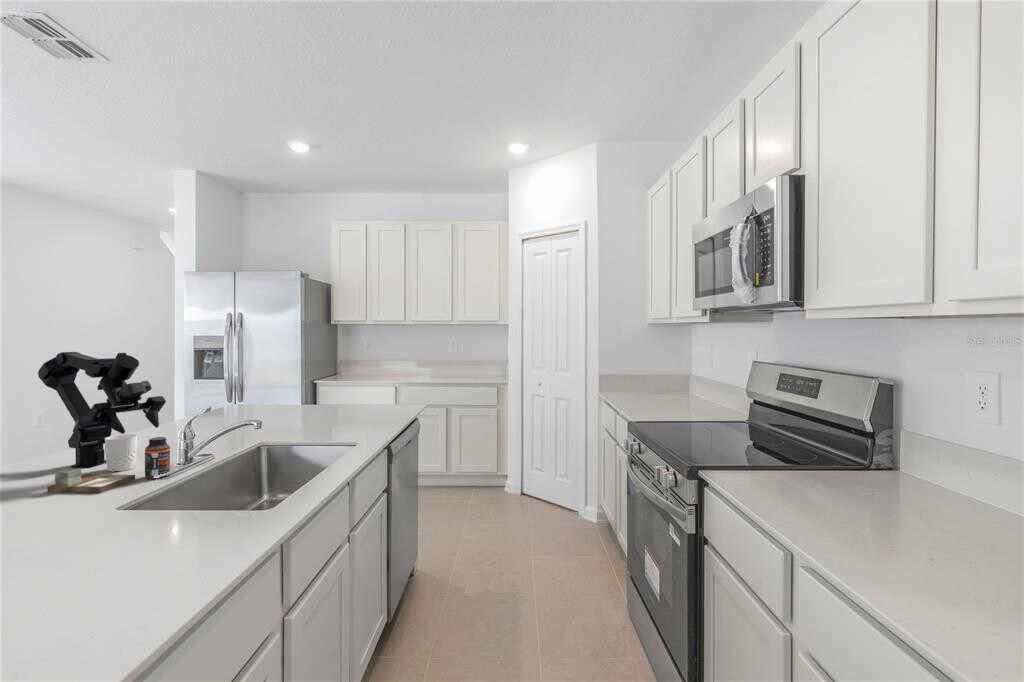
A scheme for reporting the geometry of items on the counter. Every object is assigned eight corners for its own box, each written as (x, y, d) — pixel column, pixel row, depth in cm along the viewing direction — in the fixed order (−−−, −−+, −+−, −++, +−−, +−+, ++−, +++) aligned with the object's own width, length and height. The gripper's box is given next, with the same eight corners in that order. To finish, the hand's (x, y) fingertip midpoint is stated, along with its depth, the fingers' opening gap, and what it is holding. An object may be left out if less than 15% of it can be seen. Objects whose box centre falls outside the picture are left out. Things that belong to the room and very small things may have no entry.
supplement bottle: (159, 479, 136) (159, 440, 135) (139, 479, 136) (139, 440, 136) (175, 473, 142) (174, 435, 141) (155, 473, 142) (155, 435, 142)
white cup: (110, 467, 148) (109, 435, 148) (141, 464, 152) (140, 433, 151) (100, 474, 141) (100, 440, 141) (133, 470, 144) (133, 438, 144)
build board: (47, 492, 125) (47, 473, 125) (86, 479, 136) (86, 461, 136) (100, 493, 124) (100, 473, 124) (135, 480, 135) (135, 462, 135)
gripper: (92, 375, 134) (117, 417, 130) (161, 370, 151) (185, 407, 148) (76, 401, 137) (100, 443, 133) (146, 394, 154) (169, 430, 151)
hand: (141, 429), depth 141 cm, fingers open, 9 cm apart
